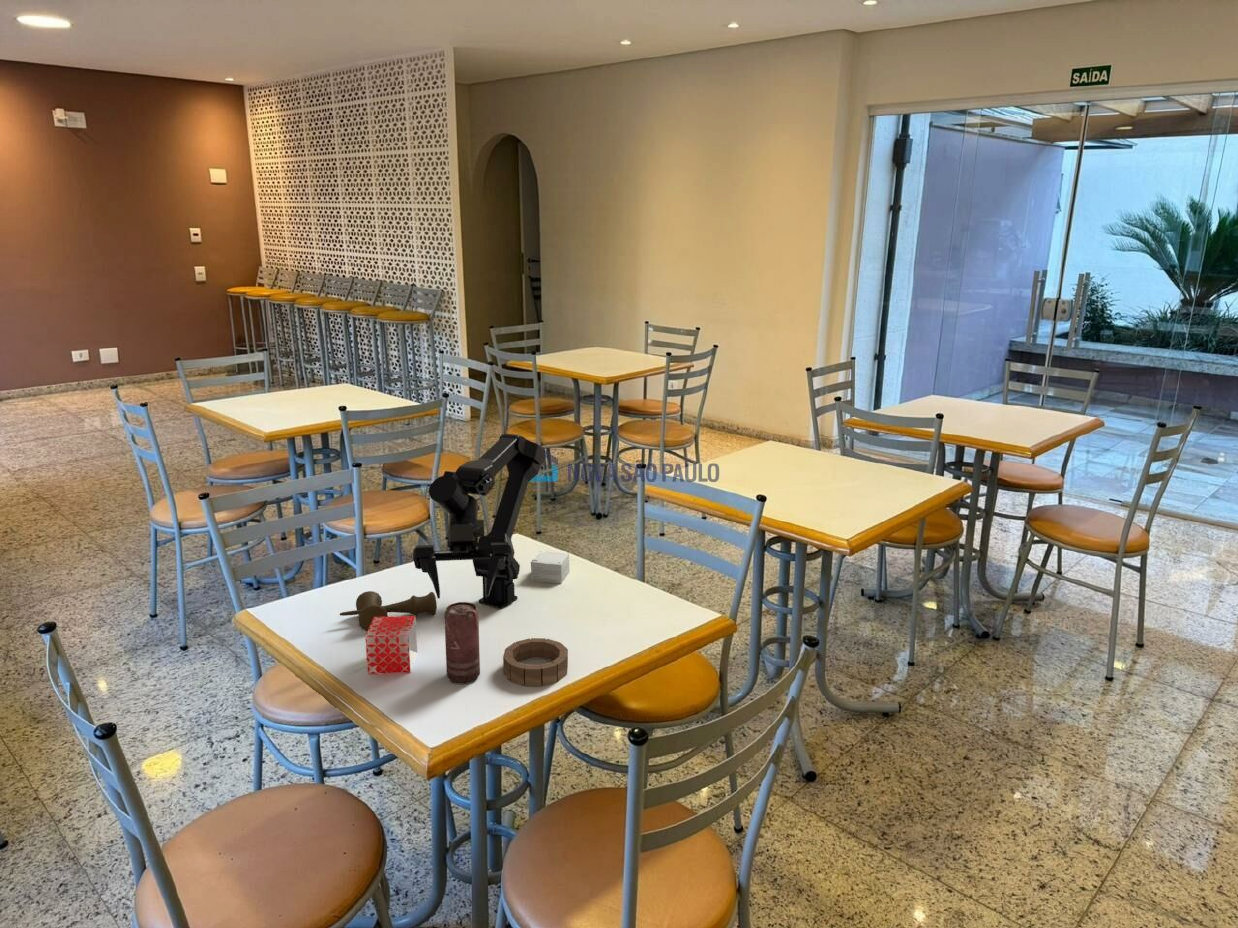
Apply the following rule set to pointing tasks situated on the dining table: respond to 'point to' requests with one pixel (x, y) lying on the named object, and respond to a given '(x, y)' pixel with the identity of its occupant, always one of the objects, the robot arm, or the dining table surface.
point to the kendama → (389, 607)
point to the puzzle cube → (391, 645)
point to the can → (462, 642)
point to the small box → (550, 567)
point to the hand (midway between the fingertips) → (463, 596)
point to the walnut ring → (535, 673)
